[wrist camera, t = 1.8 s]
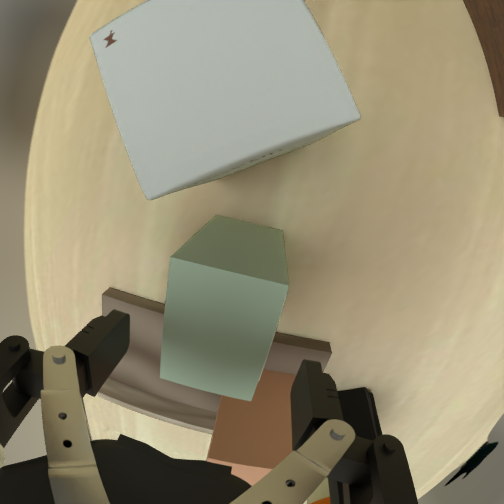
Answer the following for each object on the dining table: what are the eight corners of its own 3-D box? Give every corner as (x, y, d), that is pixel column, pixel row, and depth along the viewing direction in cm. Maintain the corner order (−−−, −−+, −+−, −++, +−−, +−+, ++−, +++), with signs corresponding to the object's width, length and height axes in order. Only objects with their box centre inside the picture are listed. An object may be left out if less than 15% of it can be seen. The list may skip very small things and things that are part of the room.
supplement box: (215, 181, 21) (138, 209, 9) (181, 93, 19) (82, 32, 7) (312, 146, 19) (368, 123, 7) (274, 57, 17) (272, -52, 5)
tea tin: (200, 298, 23) (159, 377, 14) (216, 214, 21) (170, 256, 12) (262, 313, 23) (254, 402, 14) (285, 231, 21) (293, 286, 12)
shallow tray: (110, 287, 24) (87, 306, 20) (329, 342, 24) (336, 370, 20) (113, 374, 27) (98, 396, 23) (291, 420, 27) (292, 448, 23)
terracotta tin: (229, 361, 23) (207, 457, 14) (309, 377, 23) (319, 472, 14) (220, 400, 25) (199, 487, 15) (291, 413, 25) (292, 500, 15)
